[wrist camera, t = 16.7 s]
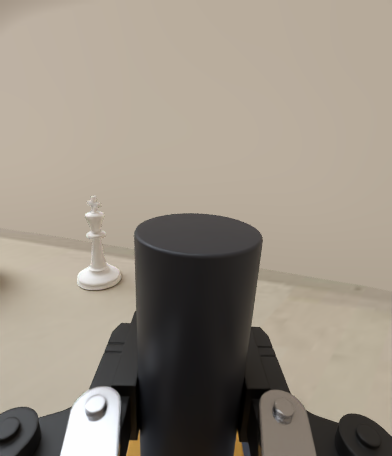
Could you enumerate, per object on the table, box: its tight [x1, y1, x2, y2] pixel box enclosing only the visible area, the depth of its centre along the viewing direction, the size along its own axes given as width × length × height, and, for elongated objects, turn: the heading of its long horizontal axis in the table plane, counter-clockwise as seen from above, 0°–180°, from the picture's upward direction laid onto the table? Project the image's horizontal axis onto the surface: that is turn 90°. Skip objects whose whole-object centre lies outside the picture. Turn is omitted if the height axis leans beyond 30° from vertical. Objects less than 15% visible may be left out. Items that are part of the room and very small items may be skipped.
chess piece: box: [77, 196, 121, 290], centre depth 30 cm, size 5×5×10 cm
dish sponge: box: [126, 213, 263, 456], centre depth 9 cm, size 8×5×13 cm, turn 1°
